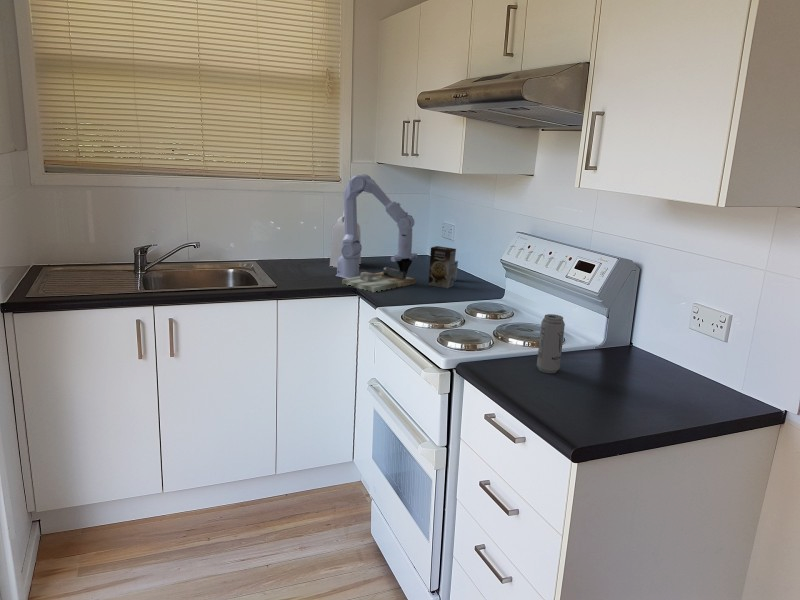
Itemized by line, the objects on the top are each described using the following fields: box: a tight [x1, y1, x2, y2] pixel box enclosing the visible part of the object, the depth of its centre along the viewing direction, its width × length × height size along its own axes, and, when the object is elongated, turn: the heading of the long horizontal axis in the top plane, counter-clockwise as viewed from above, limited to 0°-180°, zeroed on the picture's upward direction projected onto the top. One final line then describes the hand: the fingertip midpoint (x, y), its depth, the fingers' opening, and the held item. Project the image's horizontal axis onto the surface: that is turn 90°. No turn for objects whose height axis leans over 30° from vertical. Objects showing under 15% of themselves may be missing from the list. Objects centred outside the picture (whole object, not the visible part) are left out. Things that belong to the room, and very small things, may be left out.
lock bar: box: [382, 266, 407, 279], centre depth 255 cm, size 12×3×3 cm, turn 48°
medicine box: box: [453, 260, 459, 283], centre depth 265 cm, size 8×4×9 cm, turn 76°
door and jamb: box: [341, 271, 417, 293], centre depth 252 cm, size 18×26×5 cm
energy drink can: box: [536, 313, 566, 374], centre depth 162 cm, size 6×6×15 cm
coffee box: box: [428, 245, 457, 289], centre depth 253 cm, size 9×6×16 cm
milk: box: [329, 210, 362, 268], centre depth 283 cm, size 12×12×26 cm
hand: (403, 276), depth 255 cm, fingers closed
